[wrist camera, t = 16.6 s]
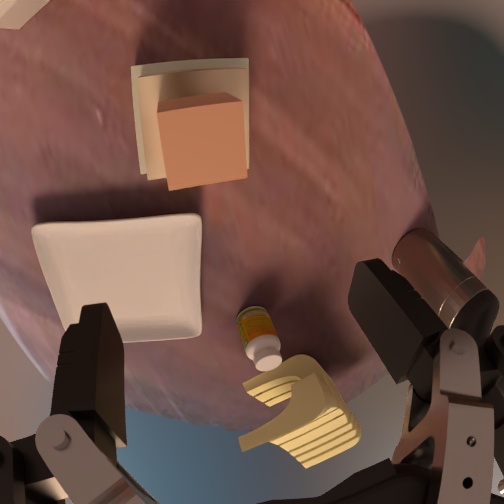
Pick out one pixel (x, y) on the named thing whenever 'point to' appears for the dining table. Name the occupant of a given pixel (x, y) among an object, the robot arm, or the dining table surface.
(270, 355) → the supplement bottle
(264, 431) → the slatted curved stool
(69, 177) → the dining table surface
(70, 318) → the salad plate
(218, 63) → the base block
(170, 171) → the cube
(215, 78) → the top block
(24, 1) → the medicine bottle
